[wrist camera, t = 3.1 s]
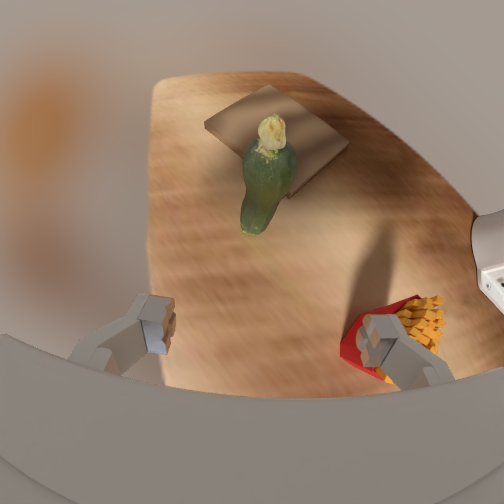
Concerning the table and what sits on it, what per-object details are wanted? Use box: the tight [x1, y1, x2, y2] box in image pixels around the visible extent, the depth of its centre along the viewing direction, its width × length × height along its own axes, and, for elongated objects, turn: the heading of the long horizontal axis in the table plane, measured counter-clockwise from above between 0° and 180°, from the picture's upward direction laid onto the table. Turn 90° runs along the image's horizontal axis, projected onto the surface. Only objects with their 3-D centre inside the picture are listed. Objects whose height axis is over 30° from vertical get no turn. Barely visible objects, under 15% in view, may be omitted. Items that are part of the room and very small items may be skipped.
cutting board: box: [204, 85, 350, 198], centre depth 37 cm, size 17×14×2 cm
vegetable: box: [240, 114, 297, 236], centre depth 24 cm, size 4×4×20 cm
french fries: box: [340, 295, 446, 390], centre depth 24 cm, size 9×4×13 cm, turn 140°
